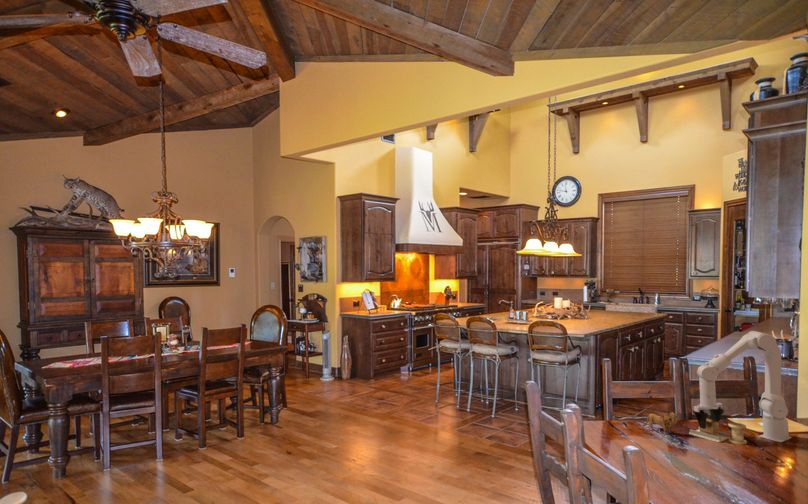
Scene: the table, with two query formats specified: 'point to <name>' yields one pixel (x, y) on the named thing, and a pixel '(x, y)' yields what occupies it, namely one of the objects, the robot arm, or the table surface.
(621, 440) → the table surface
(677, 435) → the table surface
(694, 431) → the notched board
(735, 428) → the bobbin
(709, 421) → the tan block
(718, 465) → the table surface
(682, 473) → the table surface
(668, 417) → the lion figurine
